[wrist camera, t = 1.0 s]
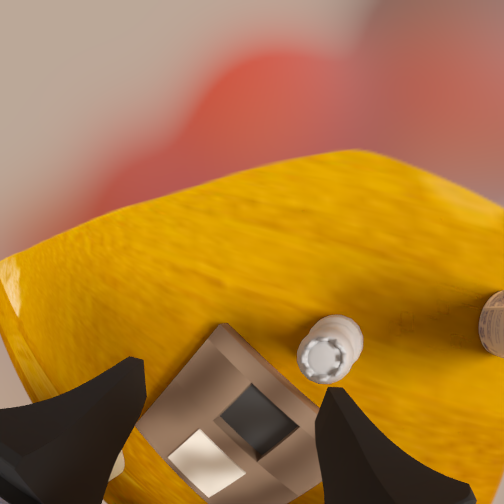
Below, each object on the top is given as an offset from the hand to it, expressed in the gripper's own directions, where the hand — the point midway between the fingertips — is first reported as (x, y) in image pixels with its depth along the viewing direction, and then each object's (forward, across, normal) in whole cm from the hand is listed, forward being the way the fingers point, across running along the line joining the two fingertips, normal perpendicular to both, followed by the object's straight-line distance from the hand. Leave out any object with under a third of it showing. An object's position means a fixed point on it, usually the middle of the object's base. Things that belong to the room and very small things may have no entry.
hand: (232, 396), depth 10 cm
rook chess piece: (+11, -7, +3) cm, 14 cm away
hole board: (+9, -1, +14) cm, 17 cm away
